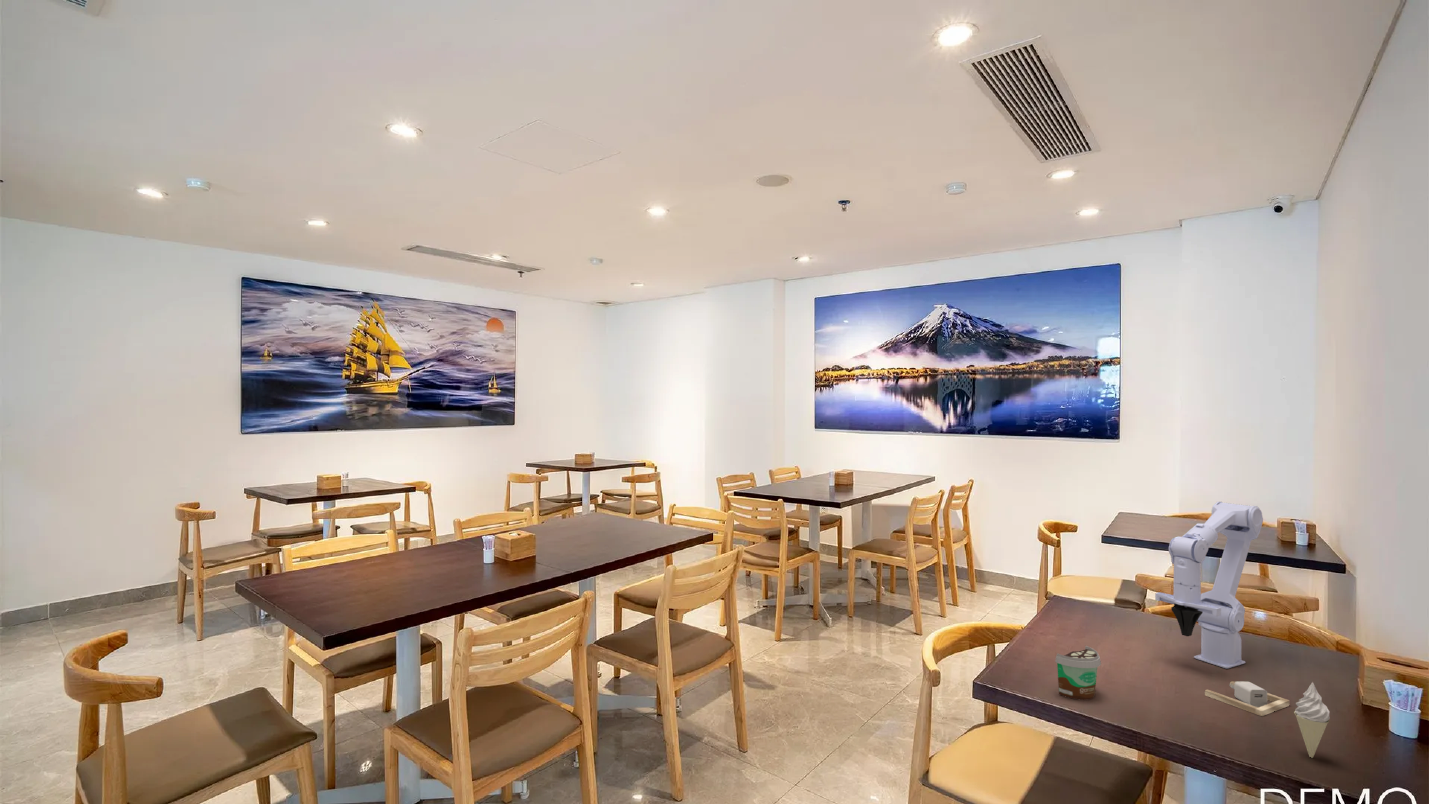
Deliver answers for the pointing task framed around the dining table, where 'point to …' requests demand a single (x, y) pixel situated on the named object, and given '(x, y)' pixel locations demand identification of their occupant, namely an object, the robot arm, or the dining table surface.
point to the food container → (1078, 673)
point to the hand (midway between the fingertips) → (1186, 635)
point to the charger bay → (1261, 711)
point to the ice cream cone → (1312, 718)
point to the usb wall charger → (1250, 693)
